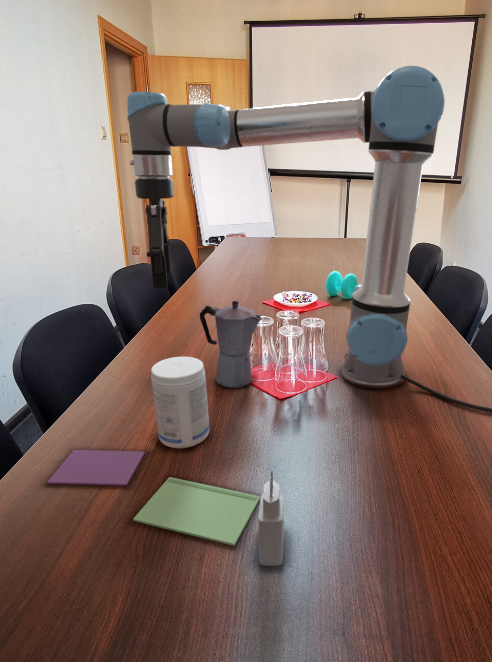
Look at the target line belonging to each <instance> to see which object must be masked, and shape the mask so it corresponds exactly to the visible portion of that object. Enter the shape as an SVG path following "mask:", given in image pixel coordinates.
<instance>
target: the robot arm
mask: <svg viewBox="0 0 492 662" xmlns="http://www.w3.org/2000/svg"><path fill="white" fill-rule="evenodd" d="M126 104H127V105H126V106H127V121H128V128H129V137H130V145H131V155H132V159H130V160H129V165H130V166H133V175H134V176H135V177H137V178H136V179H135V180H134V189H135V196H136V198H137V199H141V200H144V199H145V200H148V204H146V207H145V214H146V220H147V221H146V223H147V229H148V249H149V250H148V251H146V257H147V258H150V265H151V275H152V284H153V285H152V286H153V289H167V288H168V277H167V274H172V271H171V256H170V245H171V244H172V239H171V238H170V237H169V233H168V217H167V216H168V207H167V206H166V205H165V204H166V202H165V199H173V198H174V196H175V191H174V190H175V189H174V181H173V179H172V178H171V177H173V175H174V173H173V160H172V159H173V157H172V151H171V150H172V148H171V147H176V148H177V147H185V148H186V147H187V148H207V149H216V150H220V151H229V150H231V149H237V148H246V147H247V148H248V147H258V146H259V147H260V146H273V145H284V144H285V145H286V144H298V143H311V142H326V141H336V140H350V139H359V141H361V142H362V143H364V144H367V143H368V153H369V154H370V156H371V157H372V158H373V160H374V170H373V171H374V172H373V179H372V188H371V197H370V206H369V215H368V223H367V232H366V240H365V248H364V249H365V250H364V258H363V265H362V267H363V269H362V277H361V282H360V284H359V283H358V285H357V286H355V288H354V293H353V297H352V298H351V306H350V308H351V309H350V313H349V314H350V315H349V324H348V329H347V332H346V342H347V347H348V350H347V353H345V354H344V355H345V356H344V360H343V363H342V366H341V376H342V378H343V379H344V380H345V381H347V382H348V383H349V384H351V385H354V386H357V387H360V388H365V389H370V390H371V389H372V390H382V389H383V390H385V389H391V388H394V387H397V386H399V385H401V384H402V383H404V381H405V382H407V383H410V384H412V385H414V386H415V387H417V388H419V389H421V390H423V391H425V392H428V393H429V394H432V395H435V396H436V397H439V398H441V399H443V400H446V401H448V402H450V403H452V404H456V405H458V406H462V407H466V408H469V409H473V410H478V411H483V412H487V413H488V412H489V413H492V408H491V407H488V406H487V407H486V406H482V405H478V404H473V403H470V402H465V401H463V400H459V399H456V398H454V397H451V396H448V395H446V394H443V393H441V392H439V391H436V390H434V389H432V388H430V387H428V386H425V385H424V384H422V383H420V382H418V381H416V380H414V379H412V378H410V377H408V376H406V375H405V373H406V371H405V367H404V363H403V359H402V355H403V354H404V352H405V349H406V347H407V344H408V332H407V327H408V321H409V314H410V307H411V298H410V297H409V296H408V295H407V293H406V291H405V288H406V281H407V275H408V267H409V261H410V256H411V255H410V253H411V247H412V240H413V234H414V229H415V222H416V221H415V220H416V213H417V207H418V201H419V194H420V188H421V187H420V186H421V179H422V173H423V167H424V164H425V163H426V162H427V161H428V160H430V159H431V158H432V157H433V156H434V152H435V145H436V140H437V133H438V128H439V127H438V126H439V122H440V120H441V119H442V116H443V114H444V110H445V93H444V89H443V87H442V84H441V82H440V80H439V79H438V77H437V76H436V75H435V74H434V73H433V72H432V71H430V70H429V69H427V68H425V67H423V66H418V65H405V66H401V67H398V68H396V69H394V70H392V71H390V72H389V73H388V74H387V75H385V76H384V77H383V78H382V79H381V81H380V82H379V84H378V85H377V87H376V88H375V89H374V90H368V91H366V90H365V91H362V92H361V94H360V95H359V96H358V97H355V98H343V99H342V98H341V99H333V100H323V101H314V102H313V101H312V102H303V103H293V104H292V103H291V104H281V105H272V106H271V105H270V106H261V107H259V106H258V107H251V108H249V107H248V108H241V109H229V110H227V108H226V107H225V106H224V105H222V104H214V103H213V104H212V103H208V102H203V103H199V104H198V103H197V104H196V103H195V104H194V103H193V104H171V103H169V102H168V99H167V97H166V95H165V94H163V93H160V92H153V91H135V92H131V93H129V94H128V96H127V98H126Z"/></svg>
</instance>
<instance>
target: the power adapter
mask: <svg viewBox="0 0 492 662" xmlns="http://www.w3.org/2000/svg"><path fill="white" fill-rule="evenodd" d="M257 517H258V518H257V519H258V520H257V521H258V561H259V564H260V565H262V566H263V567H264V566H265V567H267V566H268V567H269V566H270V567H277V566H281V565H282V564H283V563H284V562H283V561H284V543H285V541H284V540H285V496H284V494H283V493H282V492H281V485H280V483H279V482H277V481H276V480H274V471H273V470H271V471H270V480H268V481H267V482H265V483H264V484H263V491H262V493H261V494H260V500H259V507H258V516H257Z"/></svg>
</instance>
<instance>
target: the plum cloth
mask: <svg viewBox="0 0 492 662" xmlns="http://www.w3.org/2000/svg"><path fill="white" fill-rule="evenodd" d="M145 455H146V450H145V451H144V450H143V451H141V450H102V449H101V450H99V449H97V450H96V449H73V450H72V451H71V452H70V454H69V455H68V456H67V457H66V459H65V460H64V461H63V462H62V463H61V465H60V466H59V467H58V468H57V469H56V471H55V472H54V473H53V474H52V476H51V477H50V478H49V479H48V481H47V482H46V484H47V485H65V486H66V485H67V486H104V487H105V486H106V487H107V486H109V487H128V485H129V484H130V481H131V480H132V478H133V476H134V474H135V472H136V471H137V470H138V468H139V466H140V463H141V462H142V460H143V459H144V457H145Z"/></svg>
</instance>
